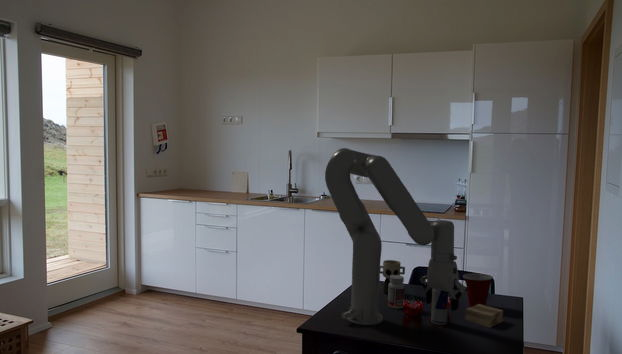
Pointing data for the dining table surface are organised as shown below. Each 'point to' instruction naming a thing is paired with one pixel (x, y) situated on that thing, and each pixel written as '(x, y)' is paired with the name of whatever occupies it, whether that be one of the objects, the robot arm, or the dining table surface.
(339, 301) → the dining table surface
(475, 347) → the dining table surface
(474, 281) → the plastic cup
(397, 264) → the character mug
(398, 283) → the pill bottle
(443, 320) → the energy drink
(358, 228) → the robot arm
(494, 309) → the oak block
